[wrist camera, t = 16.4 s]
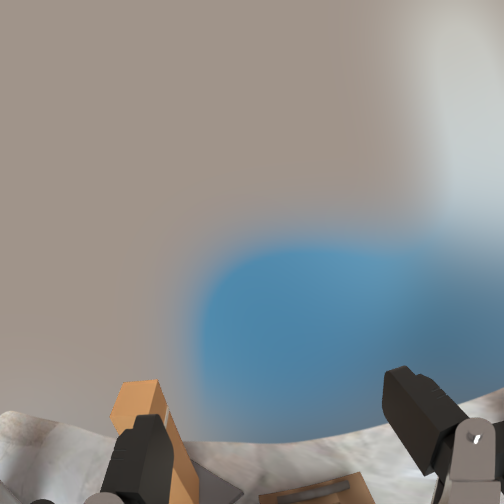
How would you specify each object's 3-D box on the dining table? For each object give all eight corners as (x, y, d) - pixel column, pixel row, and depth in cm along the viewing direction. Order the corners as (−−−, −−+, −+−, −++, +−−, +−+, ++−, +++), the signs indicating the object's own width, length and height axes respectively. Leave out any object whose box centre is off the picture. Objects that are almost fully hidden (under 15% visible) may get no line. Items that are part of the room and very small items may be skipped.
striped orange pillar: (199, 478, 35) (158, 379, 31) (199, 512, 29) (148, 415, 25) (171, 480, 34) (123, 382, 30) (167, 513, 29) (108, 417, 25)
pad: (183, 544, 24) (181, 541, 24) (132, 498, 31) (130, 495, 31) (243, 493, 32) (242, 491, 32) (188, 459, 39) (186, 456, 39)
